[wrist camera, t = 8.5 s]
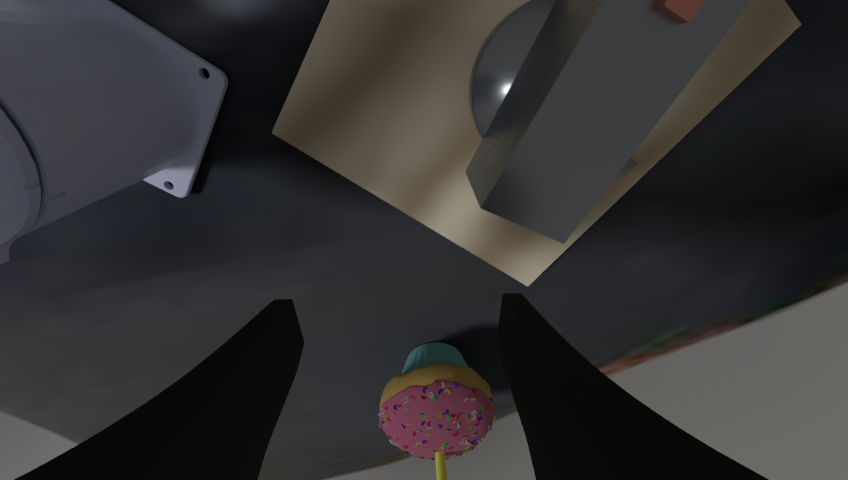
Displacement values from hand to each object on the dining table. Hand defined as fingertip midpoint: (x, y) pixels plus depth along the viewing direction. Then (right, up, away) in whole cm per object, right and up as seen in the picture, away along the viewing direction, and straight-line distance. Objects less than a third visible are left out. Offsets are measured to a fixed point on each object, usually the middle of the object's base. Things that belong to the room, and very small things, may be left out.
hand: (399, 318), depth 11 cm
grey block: (+6, +9, +2) cm, 10 cm away
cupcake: (+2, -7, +17) cm, 18 cm away
